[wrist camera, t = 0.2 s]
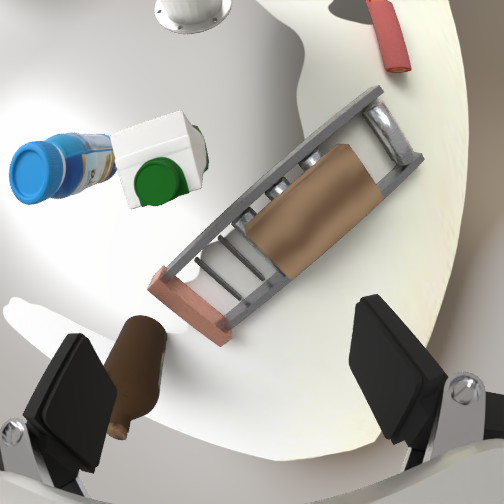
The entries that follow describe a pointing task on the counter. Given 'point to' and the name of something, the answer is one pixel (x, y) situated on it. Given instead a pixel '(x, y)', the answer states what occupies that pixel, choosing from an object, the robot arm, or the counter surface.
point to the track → (193, 305)
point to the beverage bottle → (61, 166)
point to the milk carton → (160, 159)
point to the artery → (389, 36)
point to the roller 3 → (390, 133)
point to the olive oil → (135, 371)
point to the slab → (315, 211)
